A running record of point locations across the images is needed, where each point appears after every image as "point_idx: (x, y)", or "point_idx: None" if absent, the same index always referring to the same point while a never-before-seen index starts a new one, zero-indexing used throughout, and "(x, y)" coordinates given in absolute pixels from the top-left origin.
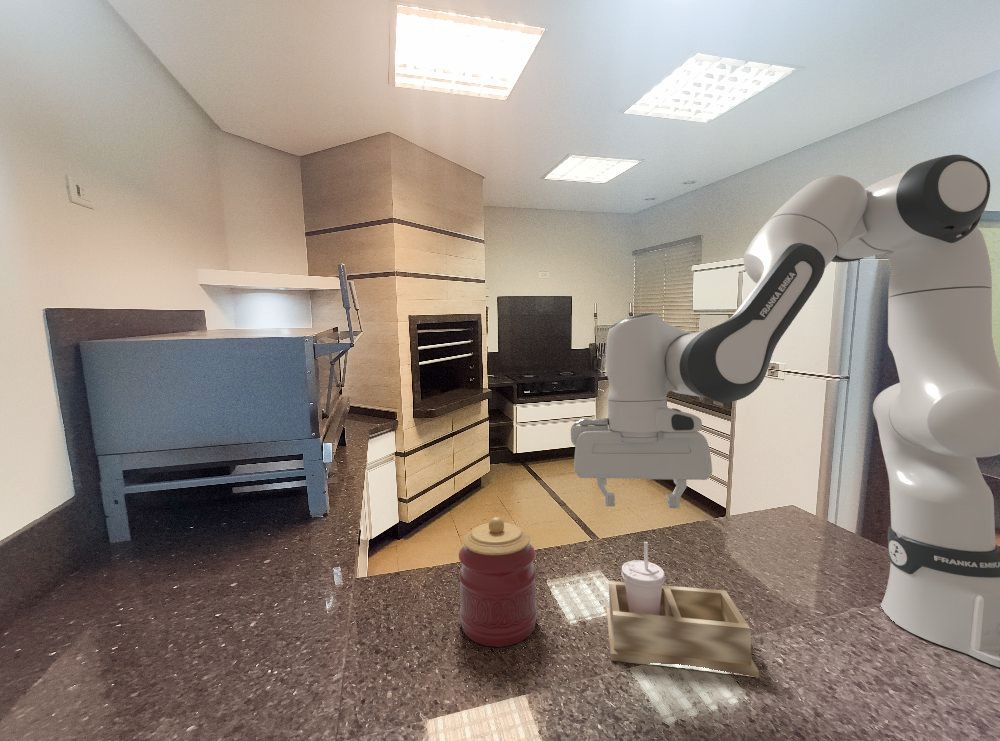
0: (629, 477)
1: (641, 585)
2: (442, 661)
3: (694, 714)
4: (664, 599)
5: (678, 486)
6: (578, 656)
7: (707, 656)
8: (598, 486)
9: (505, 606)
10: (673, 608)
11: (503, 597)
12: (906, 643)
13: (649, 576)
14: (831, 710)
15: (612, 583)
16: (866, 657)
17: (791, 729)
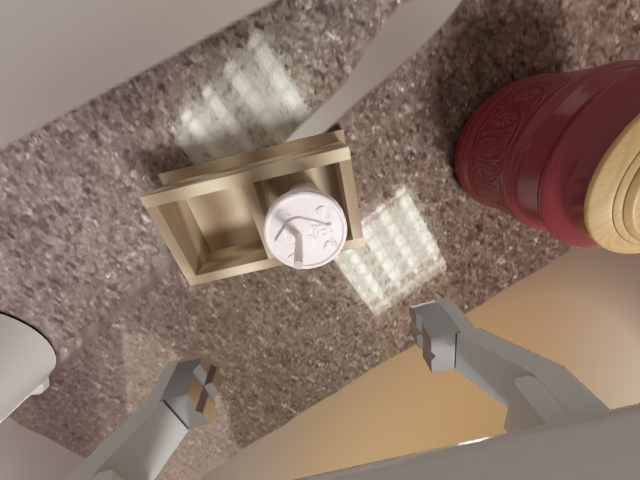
0: (394, 468)
1: (303, 189)
2: (590, 14)
3: (227, 65)
4: None
5: (127, 474)
6: (386, 118)
7: (217, 171)
8: (550, 360)
9: (546, 85)
10: (256, 206)
11: (567, 81)
12: (26, 303)
13: (290, 215)
14: (81, 148)
15: (358, 240)
16: (60, 262)
17: (117, 91)
